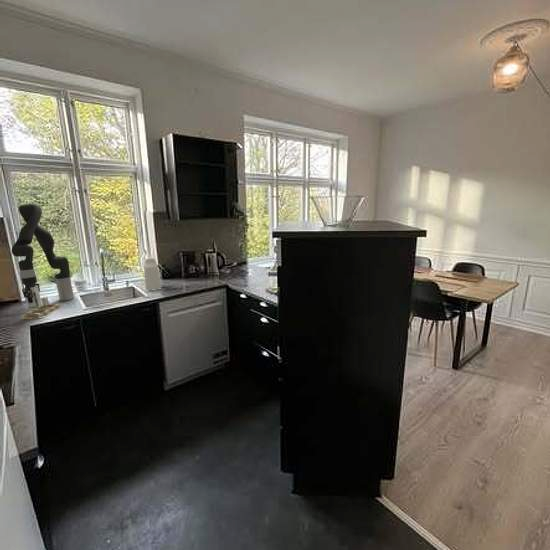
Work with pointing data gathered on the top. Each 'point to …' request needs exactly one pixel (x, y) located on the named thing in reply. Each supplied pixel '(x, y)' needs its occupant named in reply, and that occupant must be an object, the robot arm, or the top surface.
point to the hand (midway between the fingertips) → (34, 301)
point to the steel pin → (45, 302)
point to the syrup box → (34, 298)
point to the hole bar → (40, 311)
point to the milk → (152, 274)
